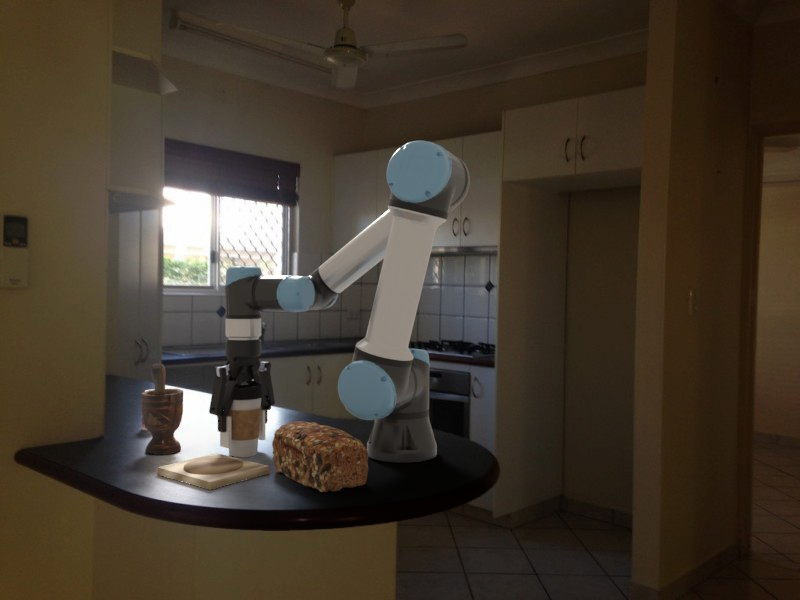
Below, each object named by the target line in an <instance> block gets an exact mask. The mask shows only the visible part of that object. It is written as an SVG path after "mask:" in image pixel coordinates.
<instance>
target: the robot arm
mask: <svg viewBox="0 0 800 600" xmlns="http://www.w3.org/2000/svg"><path fill="white" fill-rule="evenodd" d="M385 175H386V182H387V185H388V187H389V189H390V195H389V198H388V199H389V200H388V204H387V210H386V211H385V212H384V213H383V214H381V215H380V216H379V217H378V218H377V219H375V220H374V221H373V222H372V223H371V224H369V225H368V226H367V227H366V228H365V229H363V230H362V231H360V232H359V233H358V234H357V235H356V236H355V237H353V238H352V239H351V240H350V241H348V242H347V243H346V244H345V245H343V247H342V248H340V249H339V250H338V251H337V252H336V253H334V254H333V255H331V256H330V257H329V258H328V259H327V260H325V262H323V263H322V264H321V265H320V266H319V267H318V268H316V269H315V270H313V271H312V272H311V273H310V274H309V275H307V276H306V275H305V276H302V275H297V274H296V275H294V274H291V275H290V274H289V275H263V273H262V269H261V268H260V267H259V266H241V265H240V266H229V267H228V268H227V269H226V271H225V285H224V291H225V293H224V295H225V337H226V338H228V339H226V340H225V346H224V347H225V349H224V350H225V352H224V353H225V356H226V359H227V360H226V363H225V365H223V366H215V367H213V372H214V381H213V382H214V383H213V387H212V393H211V397H210V398H211V400H210V405H209V410H208V413H209V414H210V415H214V416H216V417H217V432H218V433H220V434H219V446H220V447H222V448H225V449H229V448H231V416H228V414H229V411H230V408H231V406H232V403H233V400H232V398H233V395H234V389H238V387H239V386H240V385H241V384H243V383H245V382H246V384H249V387H252V386H257V385H258V384H261V385H262V392H263V397H262V398H261V407H262V408H261V418H260V428H259V437H258V441H259V440H260V441H265V440H266V424H267V423H268V411H271V408H272V406H274V405H275V403H276V402H275V395H274V388H273V381H272V377H271V369H272V364H271V362H270V361H261V360H260V356H261V355H262V340H261V339H260V337H261V336H262V312H283V313H284V312H286V313H301V312H307V311H321V310H325V309H329V308H330V307H333V305H334V304H335V303H336V301H337V300H338V298H339V295H340V294H341V293H342V292H343V291H345V290H346V289H348V287H350V286H351V285H352V284H354V283H355V282H356V281H357V280H358V279H360V278H361V277H363V275H365V274H366V273H367V272H369V271H370V270H371V269H373V268H374V267H375V266H377V264H378V263H380V262H382V265H381V268H380V269H381V270H380V272H379V273H380V274H379V279H378V281H377V282H378V283H377V287H376V291H375V294H374V295H375V296H374V299H373V303H372V308H371V312H370V317H369V321H368V325H367V330H366V334H365V336H364V338H362V339H361V340H359V341H357V342H356V344H355V347H354V352H353V355H352V360H351V362H350V363H349V364H347V365H346V366H345V367H344V368H343V370H342V371H341V373H340V375H339V376H338V381H337V393H338V397H339V399H340V400H339V401H341V403H342V405H343V406H344V408H345V410H346V411H348V413H350V414H351V415H352V416H353V417H355V418H358V419H360V420H363V421H364V420H365V421H373V420H374V421H373V423H372V424H373V425H372V428H371V431H370V433H369V437H368V440H367V443H366V449H367V451H368V458H370V459H373V460H375V461H376V460H377V461H381V462H387V463H406V464H407V463H420V462H425V461H429V460H432V459H435V458H436V457H437V455H438V453H437V451H438V449H437V448H438V447H437V442H436V439H435V434H434V431H433V428H432V424H431V421H430V371H431V369H430V368H431V363H430V356H429V352H428V351H427V350H425V349H419V348H409V344H410V340H411V336H412V332H413V328H414V323H415V319H416V316H417V311H418V308H419V307H418V306H419V305H420V304H419V303H420V299H421V295H422V292H423V291H422V290H423V287H424V283H425V278H426V274H427V269H428V265H429V262H430V261H429V260H430V258H431V253H432V250H433V249H432V248H433V244H434V242H435V241H434V240H435V237H436V236H435V235H436V233H437V229H438V228H439V226H441V225H443V224H444V223H446V222H447V220H448V216H449V214H450V213H451V212H452V211H454V210H455V209H456V208H457V207H458V206H459V205H460V204H461V203H462V202H463V201H464V200H465V198H466V196H467V194H468V192H469V188H470V186H471V184H470V182H471V176H470V172H469V170H468V167H467V165H466V163H465V162H464V160H462V159H461V158H460V157H459V156H457V155H456V154H455V153H452V152H451V151H448V150H447V149H445V147H443V146H442V145H440V144H437V143H434V142H432V141H428V140H427V141H426V140H414V141H413V140H412V141H409V142H407V143H405V144H403V145H402V146H400V147H399V148H398V149H397V150H396V151H395V152H394V153H393V154H392V156H391V157H390V159H389V161H388V164H387V168H386V174H385Z"/></svg>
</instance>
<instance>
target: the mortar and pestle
mask: <svg viewBox="0 0 800 600" xmlns="http://www.w3.org/2000/svg"><path fill="white" fill-rule="evenodd" d="M166 374H167V373H166V367H165V366H164V364H162V363H160V362H159V363H154V364H153V365H152V366H151V369H150V375H151V379H152V382H153V385H154V389H155V390H150V389H148V390H149V391H146V392H145V391H144V392H141V395H140V397H141V417H142V416H143V421H144V424H145V427H146V429H147V430H149V432H150V434H151V436H152V437H151V439H150V440H149V442H147V443H148V444H147V445H146V447H145V449H144V452H145V453H147V454H152V455H158V456H159V455H171V454H174V453H177V452H180V451H181V450H182V446H181V443H180V442H179V441H178V440H177V439H176V438H175V436H174V435H175V432H176V431H177V429H179V427H180V425H181V423H182V419H183V412H184V404H183V403H184V390H182V389H180V388H166Z"/></svg>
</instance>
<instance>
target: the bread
mask: <svg viewBox="0 0 800 600" xmlns="http://www.w3.org/2000/svg"><path fill="white" fill-rule="evenodd" d="M271 444H272V450H273V451H272V454H273V456H272V460H273V461H274V466H275V470H276V471H277V473H278V474H283V475H284V476H286V478H288V479H290V480H293V481H295V482H297V483H299V484H301V485H303V486H305V487H310V488H312V489H316V490H317V491H319V492H321V493H323V492H325V493H328V492H339V491H340V490H342V489H345V488H356V487H358V486H361V487H362V486H364V485H366V482H367V478H368V474H369V465H368V463H369V462H368V461H369V456H368V451H367V446H365V444H363V443H362V441H361V440H360V439H357V438H355V437H354V436H353V435H351V434H349V433H348V432H346V431H344V430H341V429H340V428H336V427H332V426H330V425H325V424H323V425H321V424H318V423H317V422H315V421H313V422H309V421H305V420H302V421H300V420H296V421H292V422H288V423H285V424H282V425H281V426H280V427H279V428H278V429H276V430H275V431H274V435H273V439H272V443H271Z"/></svg>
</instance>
